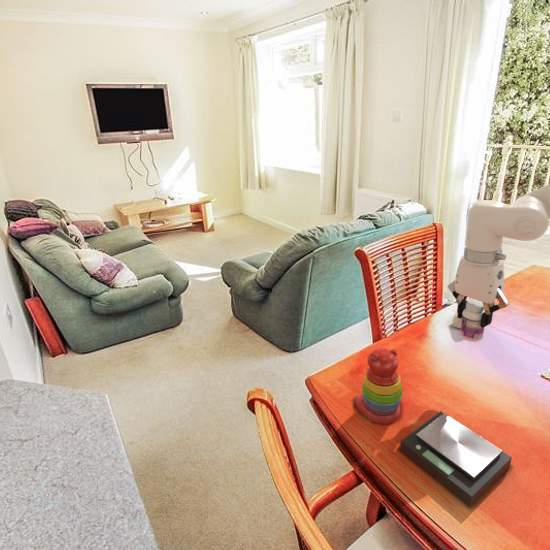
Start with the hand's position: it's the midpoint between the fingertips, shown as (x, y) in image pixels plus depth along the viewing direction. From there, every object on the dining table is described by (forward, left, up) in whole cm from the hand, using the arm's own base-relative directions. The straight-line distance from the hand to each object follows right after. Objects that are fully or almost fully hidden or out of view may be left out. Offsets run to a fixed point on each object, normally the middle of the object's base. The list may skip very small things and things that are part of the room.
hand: (473, 320), depth 95 cm
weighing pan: (-13, +25, -14) cm, 32 cm away
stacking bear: (+6, +27, -18) cm, 33 cm away
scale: (-13, +26, -18) cm, 34 cm away
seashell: (+15, -24, -18) cm, 34 cm away
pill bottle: (0, 0, -5) cm, 5 cm away
